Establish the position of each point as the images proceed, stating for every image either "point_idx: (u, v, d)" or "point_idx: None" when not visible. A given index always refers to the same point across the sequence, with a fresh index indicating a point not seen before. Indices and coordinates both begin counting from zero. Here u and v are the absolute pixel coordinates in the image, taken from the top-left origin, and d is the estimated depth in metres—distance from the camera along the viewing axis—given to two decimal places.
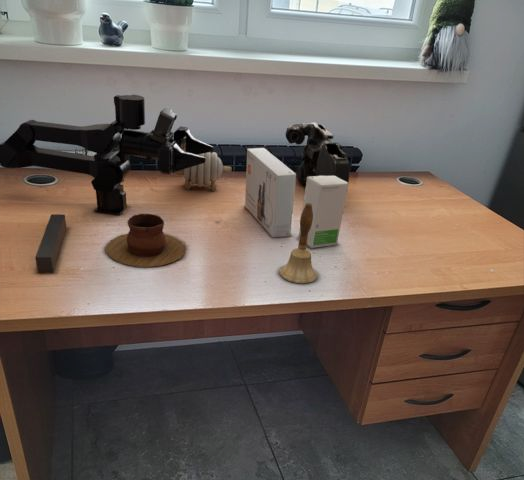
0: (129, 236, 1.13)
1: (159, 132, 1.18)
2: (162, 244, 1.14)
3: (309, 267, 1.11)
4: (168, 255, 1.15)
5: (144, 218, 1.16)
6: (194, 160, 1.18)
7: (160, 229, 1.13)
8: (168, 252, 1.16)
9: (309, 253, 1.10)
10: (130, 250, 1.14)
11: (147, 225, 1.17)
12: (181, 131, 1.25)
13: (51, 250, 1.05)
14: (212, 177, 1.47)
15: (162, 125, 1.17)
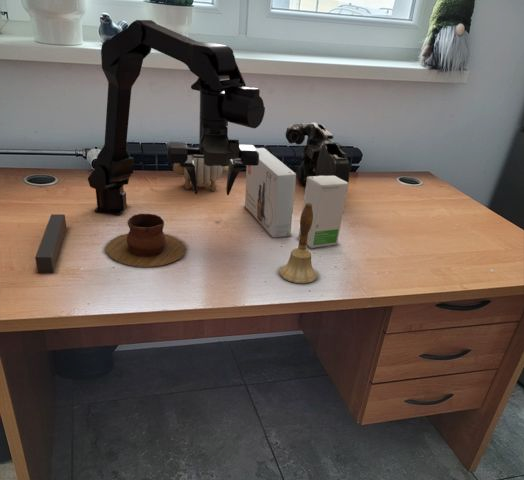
0: (129, 236, 1.13)
1: (201, 145, 1.02)
2: (162, 244, 1.14)
3: (309, 267, 1.11)
4: (168, 255, 1.15)
5: (144, 218, 1.16)
6: None
7: (160, 229, 1.13)
8: (168, 252, 1.16)
9: (309, 253, 1.10)
10: (130, 250, 1.14)
11: (147, 225, 1.17)
12: (241, 161, 1.06)
13: (51, 250, 1.05)
14: (212, 177, 1.47)
15: (204, 150, 1.01)
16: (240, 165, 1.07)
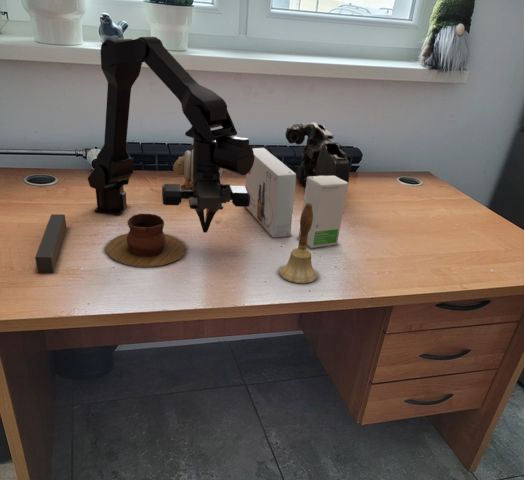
0: (129, 236, 1.13)
1: (195, 189, 1.07)
2: (162, 244, 1.14)
3: (309, 267, 1.11)
4: (168, 255, 1.15)
5: (144, 218, 1.16)
6: None
7: (160, 229, 1.13)
8: (168, 252, 1.16)
9: (309, 253, 1.10)
10: (130, 250, 1.14)
11: (147, 225, 1.17)
12: (232, 202, 1.11)
13: (51, 250, 1.05)
14: None
15: None
16: None
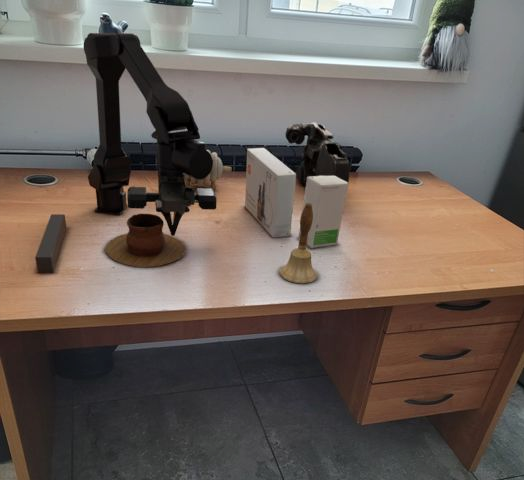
0: (128, 236, 1.13)
1: (159, 192, 1.06)
2: (161, 244, 1.14)
3: (309, 267, 1.11)
4: (168, 255, 1.15)
5: (144, 218, 1.16)
6: None
7: (159, 229, 1.12)
8: (167, 252, 1.16)
9: (309, 253, 1.10)
10: (129, 250, 1.14)
11: (147, 225, 1.17)
12: None
13: (51, 250, 1.05)
14: (212, 177, 1.47)
15: None
16: None
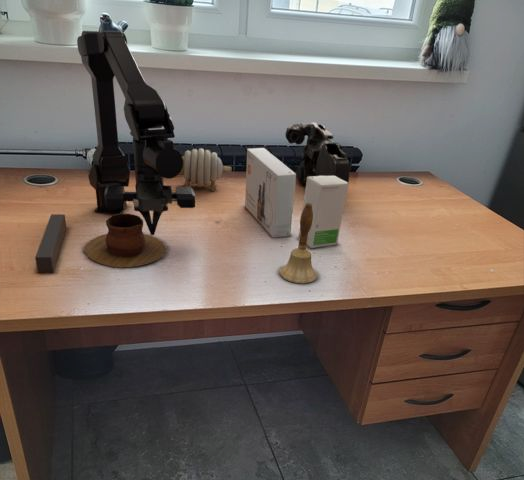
0: (108, 236, 1.12)
1: (136, 190, 1.04)
2: (141, 244, 1.13)
3: (309, 267, 1.11)
4: (147, 256, 1.14)
5: (124, 218, 1.15)
6: None
7: (139, 229, 1.12)
8: (147, 253, 1.15)
9: (309, 253, 1.10)
10: (109, 250, 1.13)
11: (127, 225, 1.16)
12: (177, 203, 1.09)
13: (51, 250, 1.05)
14: (212, 177, 1.47)
15: None
16: None
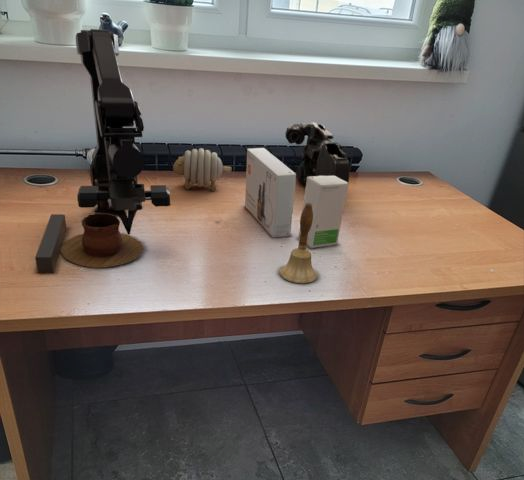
0: (83, 236, 1.11)
1: (109, 189, 1.03)
2: (117, 244, 1.12)
3: (309, 267, 1.11)
4: (124, 256, 1.13)
5: (100, 218, 1.14)
6: None
7: (115, 229, 1.10)
8: (124, 253, 1.14)
9: (309, 253, 1.10)
10: (85, 250, 1.12)
11: (104, 225, 1.15)
12: None
13: (51, 250, 1.05)
14: (212, 177, 1.47)
15: None
16: (135, 206, 1.08)
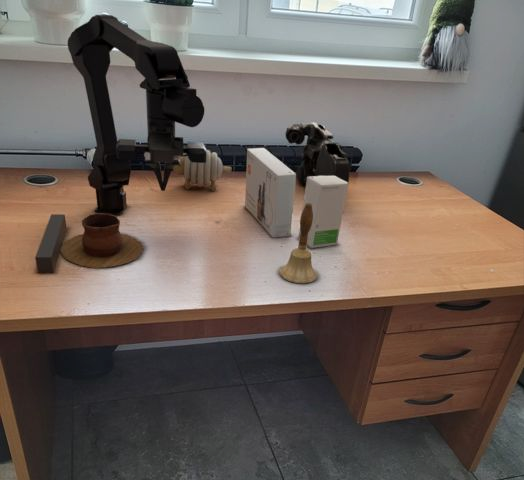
0: (84, 236, 1.11)
1: (148, 142, 1.05)
2: (117, 244, 1.12)
3: (309, 267, 1.11)
4: (124, 256, 1.13)
5: (100, 218, 1.14)
6: None
7: (115, 229, 1.10)
8: (124, 253, 1.14)
9: (309, 253, 1.10)
10: (85, 250, 1.12)
11: (104, 225, 1.15)
12: None
13: (51, 250, 1.05)
14: (212, 177, 1.47)
15: None
16: (173, 161, 1.10)
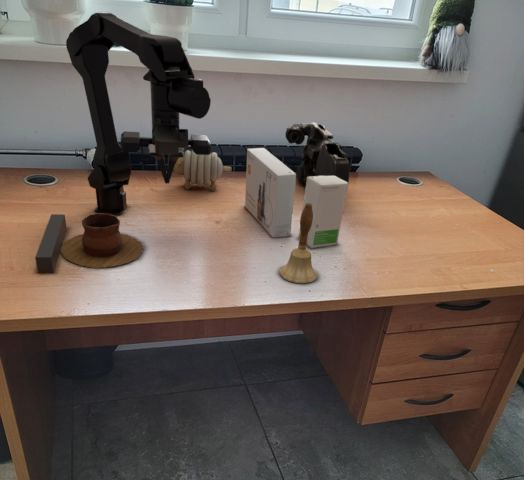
0: (84, 236, 1.11)
1: (153, 134, 1.05)
2: (117, 244, 1.12)
3: (309, 267, 1.11)
4: (124, 256, 1.13)
5: (100, 218, 1.14)
6: None
7: (115, 229, 1.10)
8: (124, 253, 1.14)
9: (309, 253, 1.10)
10: (85, 250, 1.12)
11: (104, 225, 1.15)
12: None
13: (51, 250, 1.05)
14: (212, 177, 1.47)
15: None
16: (177, 154, 1.10)
